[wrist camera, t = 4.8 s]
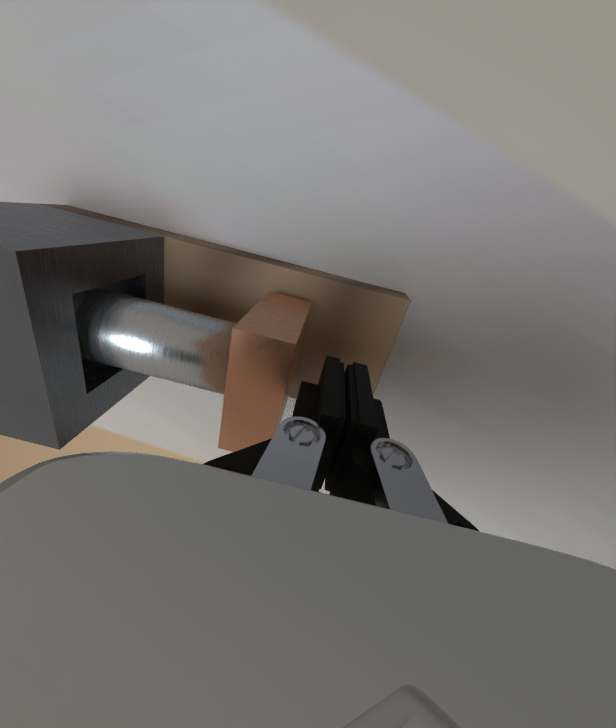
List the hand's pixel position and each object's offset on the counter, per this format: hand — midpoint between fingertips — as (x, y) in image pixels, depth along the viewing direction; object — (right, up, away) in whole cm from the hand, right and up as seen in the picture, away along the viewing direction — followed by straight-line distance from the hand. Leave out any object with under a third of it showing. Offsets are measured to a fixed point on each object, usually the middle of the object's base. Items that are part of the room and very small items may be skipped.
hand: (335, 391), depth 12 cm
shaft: (-8, +3, +2) cm, 9 cm away
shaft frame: (-7, +4, +5) cm, 9 cm away
